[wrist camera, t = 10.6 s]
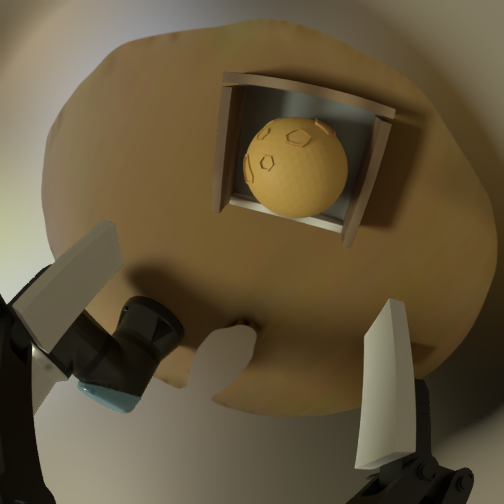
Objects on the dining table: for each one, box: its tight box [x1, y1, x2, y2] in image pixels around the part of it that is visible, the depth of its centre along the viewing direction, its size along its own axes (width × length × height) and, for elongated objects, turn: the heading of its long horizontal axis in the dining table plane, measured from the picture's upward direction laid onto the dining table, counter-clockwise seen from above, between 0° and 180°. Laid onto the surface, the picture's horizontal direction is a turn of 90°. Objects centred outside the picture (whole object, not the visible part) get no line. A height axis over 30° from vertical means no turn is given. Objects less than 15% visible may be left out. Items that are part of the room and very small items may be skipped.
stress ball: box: [243, 117, 348, 218], centre depth 25 cm, size 10×10×10 cm
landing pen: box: [211, 72, 396, 248], centre depth 28 cm, size 16×16×6 cm
